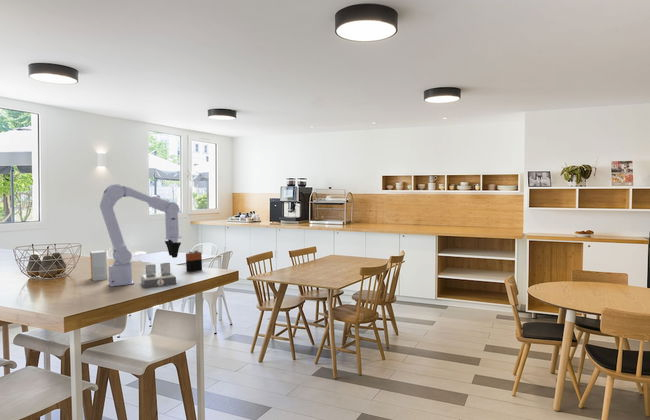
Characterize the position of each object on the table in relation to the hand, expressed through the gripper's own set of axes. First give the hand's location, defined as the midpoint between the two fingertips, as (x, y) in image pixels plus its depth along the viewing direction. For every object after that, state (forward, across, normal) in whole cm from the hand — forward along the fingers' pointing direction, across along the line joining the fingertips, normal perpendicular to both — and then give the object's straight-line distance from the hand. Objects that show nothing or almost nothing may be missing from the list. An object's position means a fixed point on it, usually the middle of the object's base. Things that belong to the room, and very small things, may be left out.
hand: (173, 256), depth 210 cm
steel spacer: (+6, -11, +5) cm, 14 cm away
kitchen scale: (+10, -11, +8) cm, 17 cm away
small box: (+10, +18, +31) cm, 37 cm away
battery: (+10, +12, -12) cm, 20 cm away
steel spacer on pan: (+6, -11, +12) cm, 17 cm away
